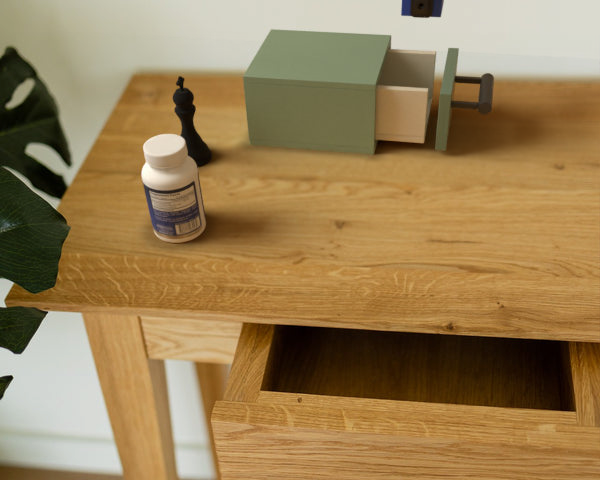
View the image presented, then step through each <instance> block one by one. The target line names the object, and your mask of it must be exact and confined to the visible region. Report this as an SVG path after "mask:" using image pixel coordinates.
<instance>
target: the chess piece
mask: <svg viewBox="0 0 600 480" xmlns="http://www.w3.org/2000/svg"><path fill="white" fill-rule="evenodd" d="M184 83H185V77H183V76H182V75H179V76H178V77H177V81H176V82H175V85H176V86H177V87H178V88H177V89H175V91H174V92H173V94H172V101H173V103H174V105H175V107H174V113H175V115H176V116H177V118H178V119H179V121H180V125H181V130H180V131H181V132H180V136H181V137H183V138H184V140H185V142H186V146H187V151H188V156H190V157H191V158H192V159H193V160H194V161H195V163H196V165H197V168H199V167H203V166H205V165H206V164H208V163H209V162H210V161H211V160H212V158H213V153H212V151H211V149H210V148H209V146H208V144H207V143H206V142H205V141H204V140H203V139H202V137H201V135H200V134H199V132H198V131H197V129H196V126H195V124H194V118H195V114H196V111H197V108H196V105H195V104H194V100H195V95H194V93H193V92H192V90H190V89H189V88H188V87H185V86H184V85H185V84H184Z"/></svg>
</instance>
